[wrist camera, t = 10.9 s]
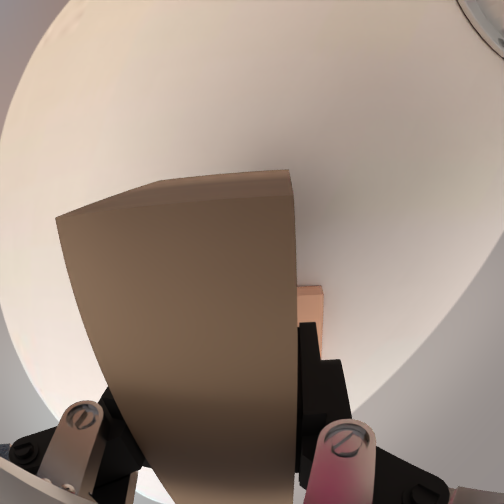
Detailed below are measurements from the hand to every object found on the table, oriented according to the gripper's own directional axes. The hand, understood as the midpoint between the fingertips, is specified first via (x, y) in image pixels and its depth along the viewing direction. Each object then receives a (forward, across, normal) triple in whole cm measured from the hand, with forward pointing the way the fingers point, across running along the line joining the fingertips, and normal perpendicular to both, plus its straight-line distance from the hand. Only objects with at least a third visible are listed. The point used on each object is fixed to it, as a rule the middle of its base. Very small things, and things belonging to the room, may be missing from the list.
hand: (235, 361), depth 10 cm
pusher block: (+1, 0, 0) cm, 1 cm away
